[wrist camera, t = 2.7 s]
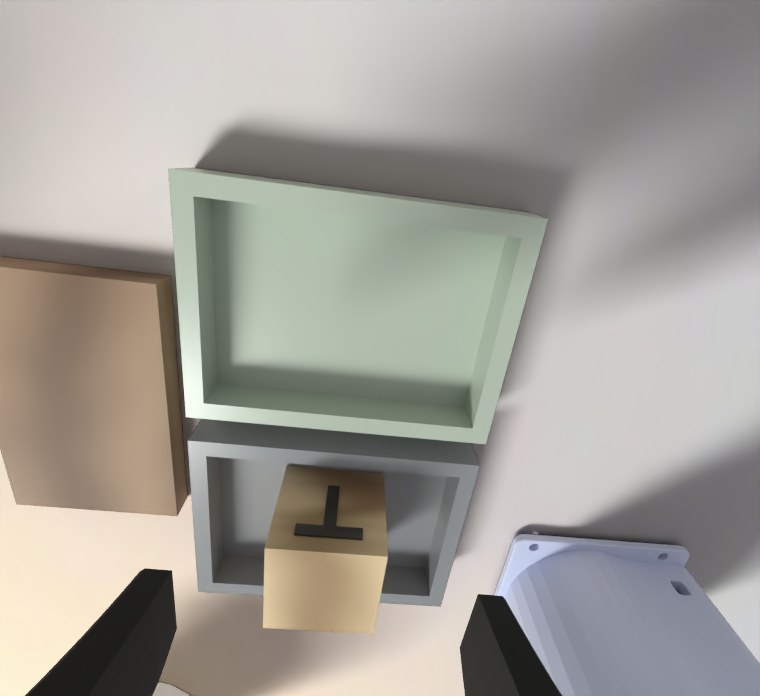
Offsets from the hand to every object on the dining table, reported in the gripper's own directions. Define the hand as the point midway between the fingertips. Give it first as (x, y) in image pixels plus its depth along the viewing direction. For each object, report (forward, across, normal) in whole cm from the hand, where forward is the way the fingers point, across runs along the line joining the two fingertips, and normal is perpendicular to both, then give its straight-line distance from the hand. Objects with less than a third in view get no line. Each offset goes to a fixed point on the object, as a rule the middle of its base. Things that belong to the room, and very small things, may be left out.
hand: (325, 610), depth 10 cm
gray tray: (+9, 0, +6) cm, 11 cm away
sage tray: (+9, 0, -4) cm, 10 cm away
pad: (+9, +11, +1) cm, 14 cm away
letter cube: (+9, 0, +6) cm, 10 cm away
